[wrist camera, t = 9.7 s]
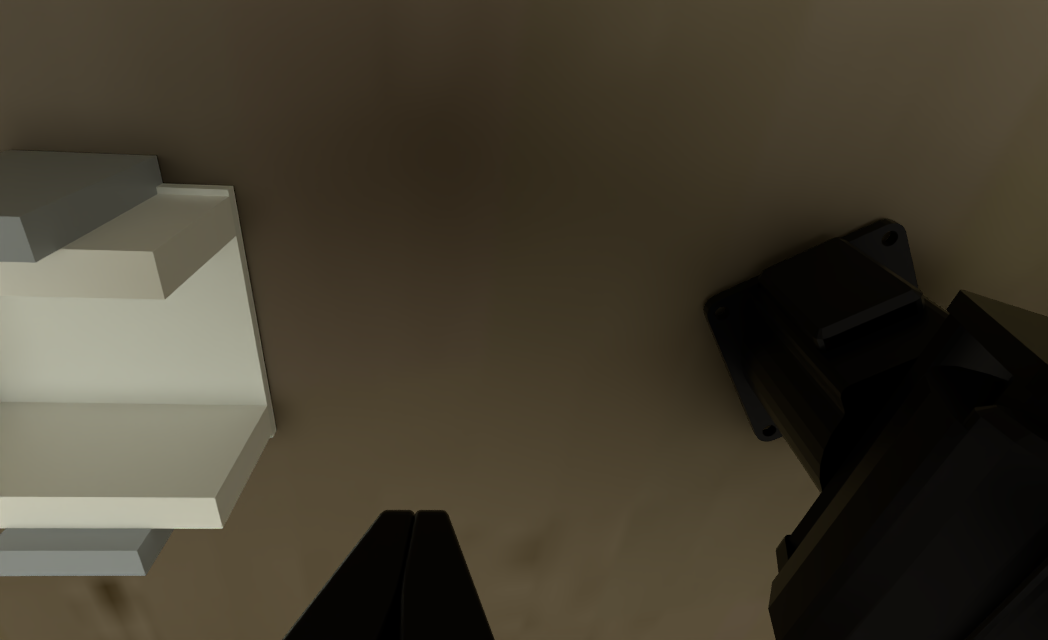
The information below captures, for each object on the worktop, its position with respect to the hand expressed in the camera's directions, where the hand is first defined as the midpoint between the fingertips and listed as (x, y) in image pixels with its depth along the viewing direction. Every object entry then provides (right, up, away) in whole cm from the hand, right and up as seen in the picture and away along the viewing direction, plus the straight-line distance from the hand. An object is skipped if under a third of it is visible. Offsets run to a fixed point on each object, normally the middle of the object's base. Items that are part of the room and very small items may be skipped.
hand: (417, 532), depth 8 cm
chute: (-14, +3, +11) cm, 19 cm away
